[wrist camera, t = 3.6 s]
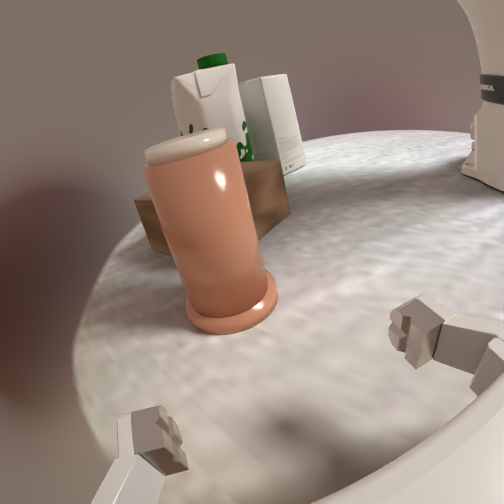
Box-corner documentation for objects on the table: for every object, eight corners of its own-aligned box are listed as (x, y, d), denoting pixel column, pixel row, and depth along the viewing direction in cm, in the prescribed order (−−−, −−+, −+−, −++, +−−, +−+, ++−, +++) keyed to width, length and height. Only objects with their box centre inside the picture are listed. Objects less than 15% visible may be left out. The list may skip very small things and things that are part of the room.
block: (216, 207, 40) (204, 164, 38) (290, 213, 34) (280, 160, 31) (152, 249, 33) (134, 200, 30) (226, 267, 27) (207, 202, 24)
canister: (226, 269, 26) (187, 131, 21) (294, 285, 23) (263, 119, 17) (171, 317, 22) (110, 162, 17) (240, 347, 18) (178, 150, 13)
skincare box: (307, 165, 50) (290, 73, 42) (281, 177, 46) (260, 76, 39) (270, 163, 55) (253, 80, 48) (244, 174, 52) (223, 86, 44)
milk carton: (267, 189, 42) (236, 47, 33) (204, 209, 41) (165, 62, 31) (248, 177, 50) (220, 58, 40) (194, 193, 48) (162, 72, 39)
